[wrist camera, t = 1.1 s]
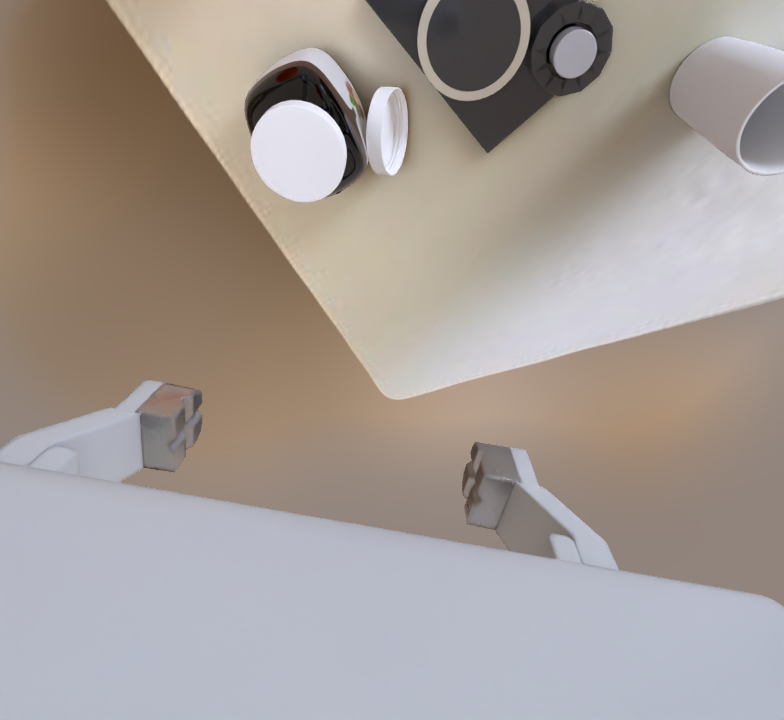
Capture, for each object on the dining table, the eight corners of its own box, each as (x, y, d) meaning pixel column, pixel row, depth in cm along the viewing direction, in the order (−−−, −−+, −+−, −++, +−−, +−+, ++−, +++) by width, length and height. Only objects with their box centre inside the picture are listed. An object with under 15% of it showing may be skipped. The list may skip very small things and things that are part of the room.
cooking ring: (394, 36, 36) (394, 37, 35) (485, -70, 31) (485, -69, 31) (463, 123, 40) (463, 124, 40) (551, 40, 35) (552, 40, 35)
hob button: (541, 50, 36) (545, 54, 35) (578, 15, 35) (584, 18, 34) (562, 83, 38) (567, 88, 37) (598, 51, 36) (605, 55, 35)
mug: (660, 131, 42) (726, 186, 33) (670, 47, 38) (748, 85, 29) (785, 99, 40) (889, 148, 31) (810, 6, 36) (941, 33, 27)
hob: (364, -3, 36) (362, 1, 34) (498, -174, 30) (504, -180, 28) (490, 155, 44) (493, 165, 42) (616, 46, 38) (626, 52, 36)
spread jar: (251, 74, 40) (208, 116, 31) (364, -1, 36) (351, 23, 28) (326, 195, 47) (308, 254, 39) (427, 142, 43) (432, 196, 35)
